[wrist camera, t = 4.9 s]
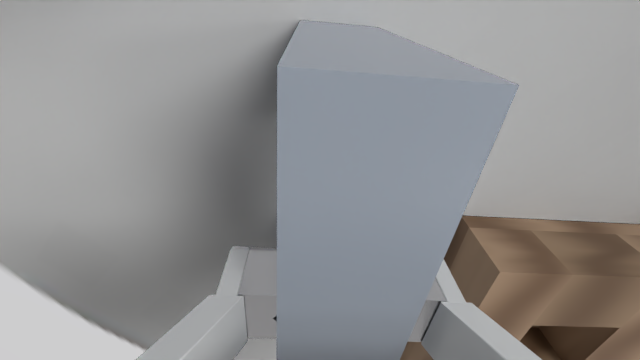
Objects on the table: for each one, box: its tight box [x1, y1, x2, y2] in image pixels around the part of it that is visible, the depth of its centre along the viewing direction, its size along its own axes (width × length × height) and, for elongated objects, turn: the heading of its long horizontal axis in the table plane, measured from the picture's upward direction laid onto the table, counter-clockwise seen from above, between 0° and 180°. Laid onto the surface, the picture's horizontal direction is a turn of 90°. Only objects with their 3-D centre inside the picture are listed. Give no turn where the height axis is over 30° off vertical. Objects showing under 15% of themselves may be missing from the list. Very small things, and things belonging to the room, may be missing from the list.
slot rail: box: [400, 216, 640, 360], centre depth 21 cm, size 12×22×4 cm, turn 175°
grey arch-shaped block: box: [277, 20, 519, 360], centre depth 10 cm, size 3×12×9 cm, turn 175°
